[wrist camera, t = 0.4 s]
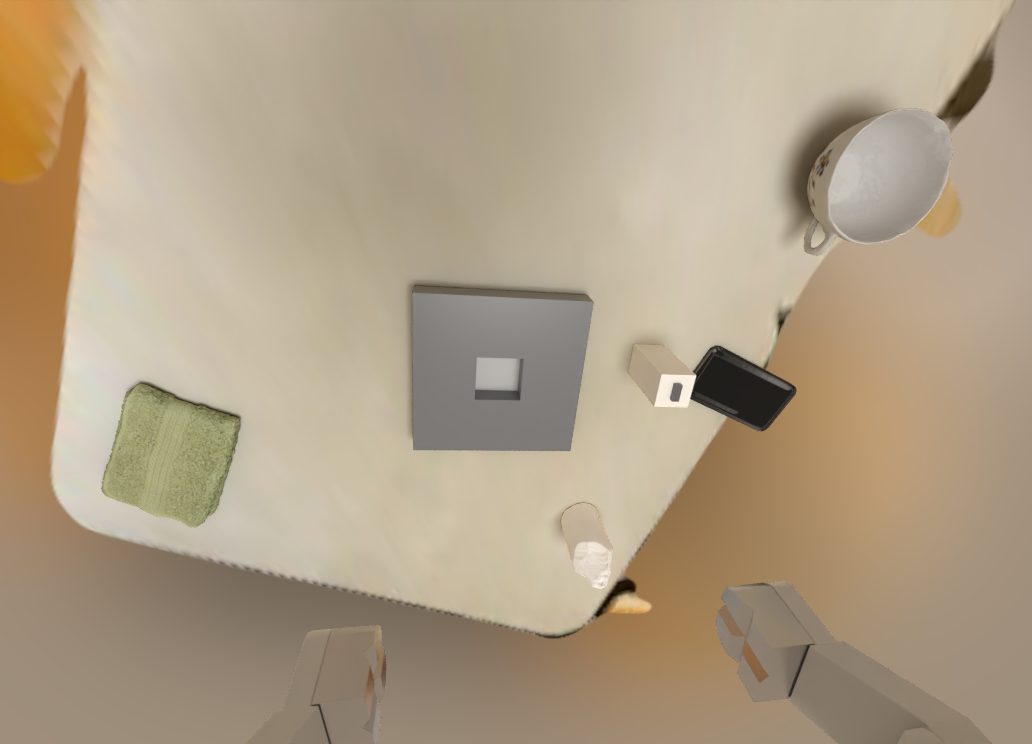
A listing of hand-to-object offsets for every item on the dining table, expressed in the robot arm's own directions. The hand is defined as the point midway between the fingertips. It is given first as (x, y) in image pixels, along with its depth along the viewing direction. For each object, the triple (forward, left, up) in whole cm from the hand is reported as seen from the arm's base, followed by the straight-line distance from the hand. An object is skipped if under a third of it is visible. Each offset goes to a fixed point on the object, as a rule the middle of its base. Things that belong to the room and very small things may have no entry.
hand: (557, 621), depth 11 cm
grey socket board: (+14, +3, -46) cm, 48 cm away
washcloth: (+27, -36, -47) cm, 65 cm away
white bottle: (+38, +17, -46) cm, 62 cm away
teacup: (-10, +39, -46) cm, 61 cm away
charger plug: (+12, +22, -46) cm, 52 cm away
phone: (+16, +36, -46) cm, 61 cm away
